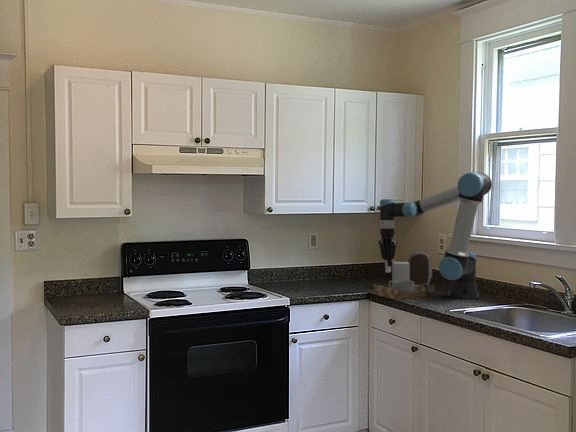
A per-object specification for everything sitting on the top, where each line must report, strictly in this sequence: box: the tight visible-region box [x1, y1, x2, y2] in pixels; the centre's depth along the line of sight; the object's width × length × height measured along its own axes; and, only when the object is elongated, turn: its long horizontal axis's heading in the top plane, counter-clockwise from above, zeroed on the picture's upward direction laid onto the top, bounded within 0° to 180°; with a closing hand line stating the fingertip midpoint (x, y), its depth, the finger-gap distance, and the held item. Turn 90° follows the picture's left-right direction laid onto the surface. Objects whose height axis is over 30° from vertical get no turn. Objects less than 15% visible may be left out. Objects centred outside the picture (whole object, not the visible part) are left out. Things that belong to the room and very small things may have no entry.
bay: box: [373, 278, 439, 301], centre depth 327 cm, size 21×27×9 cm
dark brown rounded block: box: [407, 250, 434, 287], centre depth 361 cm, size 15×8×20 cm, turn 78°
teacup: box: [387, 280, 414, 293], centre depth 324 cm, size 14×11×8 cm
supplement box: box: [391, 261, 410, 288], centre depth 346 cm, size 9×9×15 cm
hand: (388, 272), depth 334 cm, fingers closed
